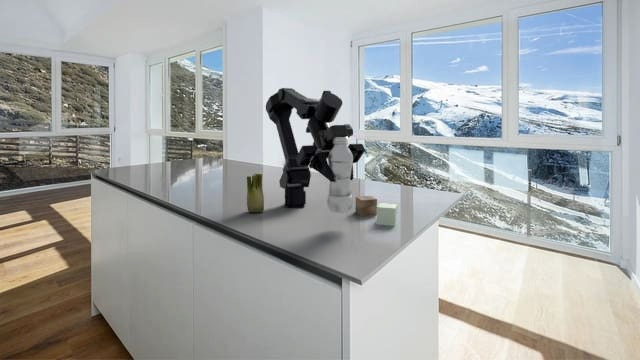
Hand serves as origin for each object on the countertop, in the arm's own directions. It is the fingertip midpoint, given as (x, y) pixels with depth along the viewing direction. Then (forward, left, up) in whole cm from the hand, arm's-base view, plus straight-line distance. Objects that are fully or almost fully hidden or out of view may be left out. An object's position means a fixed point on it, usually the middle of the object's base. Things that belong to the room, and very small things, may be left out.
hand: (342, 180), depth 94 cm
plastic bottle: (0, +2, -9) cm, 9 cm away
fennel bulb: (-24, +19, -14) cm, 34 cm away
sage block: (+14, +6, -13) cm, 20 cm away
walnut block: (+10, +16, -13) cm, 23 cm away
